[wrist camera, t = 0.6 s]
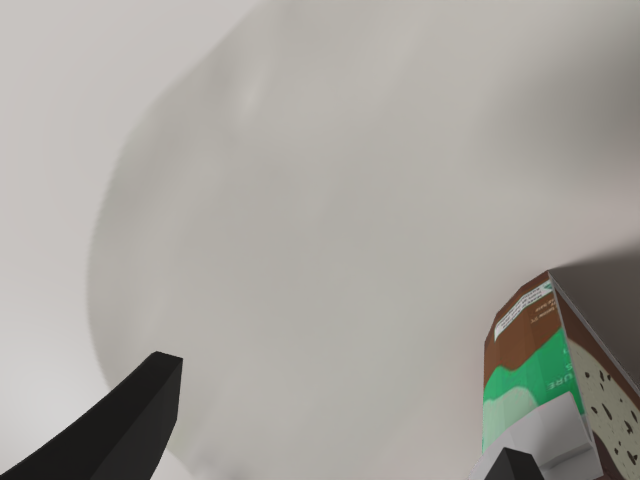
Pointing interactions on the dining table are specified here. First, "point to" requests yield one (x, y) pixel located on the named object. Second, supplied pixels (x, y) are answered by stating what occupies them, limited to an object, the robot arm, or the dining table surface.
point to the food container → (556, 391)
